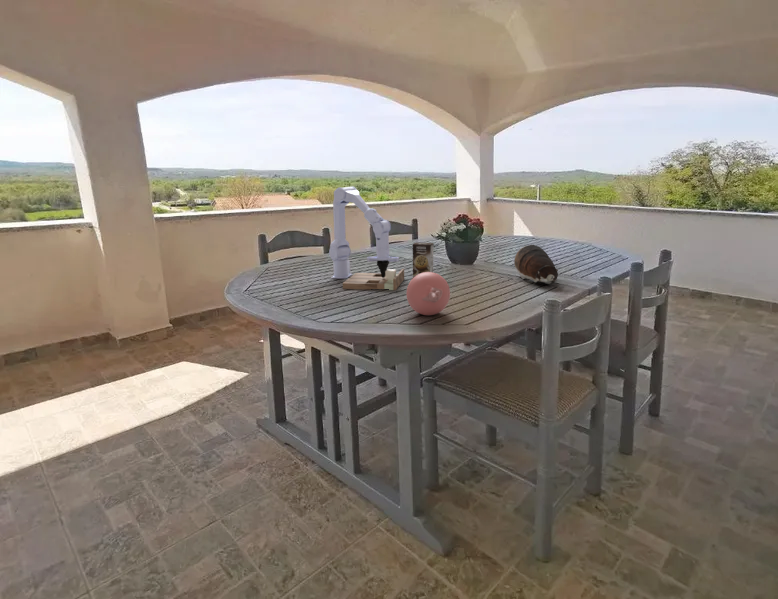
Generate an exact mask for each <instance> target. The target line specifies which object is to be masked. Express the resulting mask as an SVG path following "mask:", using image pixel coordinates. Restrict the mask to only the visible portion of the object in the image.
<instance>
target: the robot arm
mask: <svg viewBox="0 0 778 599" xmlns="http://www.w3.org/2000/svg"><path fill="white" fill-rule="evenodd" d="M349 203H352V204H354V205H355V206H356V207H357V208H358V209H359V210H360V211H361V212H363V217H364V219H365V220H366V221H367V222H368V223H369V224H370V225H371V227H372V231H373V233H374V237H375V243H376V244H375V245H376V246H375V248H376V253H375V254H376V256H367V257H366V262H376V265H377V268H378V269H379V271H380V272H379V273H381V275H382V278H384V277H385V271H386V270H387V269H388V266H389V264H390V263H391V262H395V263H399V262H400V256H390V244H389V243H390V242H389V241H390V240H389V239H390V238H389V236H390V235H389V232H390V231H391V229H392V226H391V222H390V221H389V219H384V217H383V216H381V214H379V212H377V211H378V210H377V209H376V208H370V206H369V204H367V203H366V201H365V200H364V198H362V196H361V195H360V191H359V190H358V189H357V188H356V187H355V186H353V185H352V186H345V187H340V186H339V187H337V188H336V189H335V190H334V191H333V201H332V208H333V211H332V212H333V235H334V236H333V240H332V241H331V243H330V245H329V250H328V251H329V252H328V254H329V257H330V259H331V260H332V262H333V263H332V266H333V276H331V277H330V278H331V279H346V280H348V279H349V278H350V277H351V276H353V273H351V265H350V264H351V262H350V260H349V259H350V258H349V257H350V255H351V253H352V252H351V251H352V250H351V247H350V242H349V241H348V240H347V239H346V206H347V205H349Z"/></svg>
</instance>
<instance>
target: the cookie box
mask: <svg viewBox="0 0 778 599" xmlns="http://www.w3.org/2000/svg"><path fill="white" fill-rule="evenodd" d="M434 244H435V243H434V242H418V241H417V242H414V243H412V278H414V277H415V276H416V275H418V274H420V273H423V272H433V273H434Z"/></svg>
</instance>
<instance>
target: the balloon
mask: <svg viewBox="0 0 778 599" xmlns="http://www.w3.org/2000/svg"><path fill="white" fill-rule="evenodd" d="M450 298H451V288H450V285H449V284H448V282H447V280H446V279H445V278H444V277H443V276H441V275H440V274H438V273H436V272H434V271H433V272H423V273H420V274H418V275H416V276H415V277H412V278H411V279H410V281H409V283H408V285H407V287H406V299H407V303H408V305H409V306H410V308H412V310H414V311H415V312H416V313H417V314H420V315H422V316H434V315H437V314H439V313H441V312H442V311H443V310H444V309H445V308H446V307H447V306H448V303H449V302H450Z"/></svg>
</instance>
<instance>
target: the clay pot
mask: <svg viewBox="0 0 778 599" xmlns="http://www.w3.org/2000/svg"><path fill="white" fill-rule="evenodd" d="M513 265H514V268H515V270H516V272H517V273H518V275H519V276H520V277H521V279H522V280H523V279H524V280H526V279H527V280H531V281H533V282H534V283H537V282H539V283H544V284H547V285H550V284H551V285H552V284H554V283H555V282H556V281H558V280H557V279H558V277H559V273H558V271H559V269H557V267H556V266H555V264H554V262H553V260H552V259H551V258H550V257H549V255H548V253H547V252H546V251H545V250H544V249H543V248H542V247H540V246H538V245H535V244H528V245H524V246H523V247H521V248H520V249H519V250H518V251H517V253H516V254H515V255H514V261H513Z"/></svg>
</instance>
